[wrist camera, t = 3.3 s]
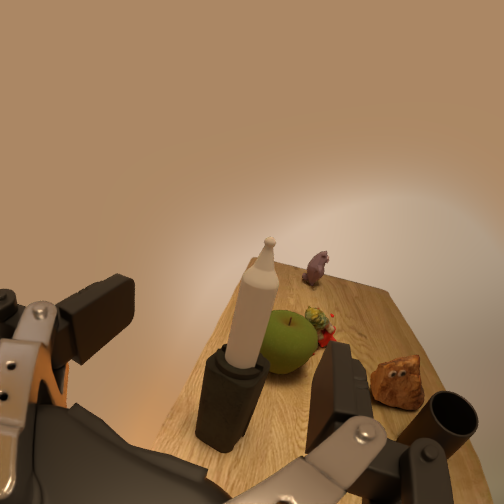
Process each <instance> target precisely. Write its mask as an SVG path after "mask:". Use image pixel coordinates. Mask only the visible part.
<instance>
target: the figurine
mask: <svg viewBox="0 0 504 504" xmlns="http://www.w3.org/2000/svg"><path fill="white" fill-rule="evenodd" d="M328 261H329V256H328V255H327V251H324V252H320V253H319V254H317V255H316V256H314V257H313V259H312V260H311V261H310V262H309V264H308V267H307V274H306V273H304V274H303V275H302V278H303V279H304V280H309V283H310V285H311V286H313V284H314V283H315V282H316V281H317V280H318V279H320V278H321V277H322V276H323V275H324V266H325V263H328Z"/></svg>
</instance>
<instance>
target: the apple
mask: <svg viewBox="0 0 504 504" xmlns="http://www.w3.org/2000/svg"><path fill="white" fill-rule="evenodd" d="M317 347H318V336H317V331H316V330H315V328H314V326H313V325H312V324H311V323H310V322H309V321H308V320H307V319H306V318H304V317H303V316H301V315H299V314H297V313H295V312H291V311H288V310H273V311H271V315H270V318H269V322H268V325H267V328H266V332H265V335H264V338H263V342H262V345H261V348H260V351H259V352H260V353H261V354H262V355H263V357H265V358H266V359H267V360H268V361H269V362H270V369H269V371H270V372H272V373H277V374H287V373H290V372H292V371H294V370H296V369H297V368H299V367H300V366H302V365H303V364H305V363H306V362H307V361H308V360H309V358H310V357H311V356H312V355H313V353H314V352H315V350H316V349H317Z"/></svg>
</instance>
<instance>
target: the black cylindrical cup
mask: <svg viewBox="0 0 504 504" xmlns="http://www.w3.org/2000/svg"><path fill="white" fill-rule="evenodd" d="M477 427H478V417H477V413H476V411H475V410H474V408H473V406H472V405H471V404H470V403H469V402H468V401H467V400H466V399H465V398H463V397H462V396H460V395H458V394H456V393H454V392H450V391H439V392H437V393H435V394H434V395H433V396H432V397H431V398H430V399H429V401H428V402H427V403H426V405H425V406H424V407H423V408H422V410H421V411H420V412H419V413H418V415H417V416H416V417H415V418H414V419H413V421H412V422H411V423H410V424H409V425H408V426H407V428H406V429H405V430H404V431H403V432H402V433H401V434H400V436H399V438H398V440H397V442H399V443H402V444H405V445H408V446H410V445H411V444H412V443H413V442H414V441H415V440H417V439H419V438H430V439H433V440H435V441H436V442H438V443H439V444H440V445H441V446H442V448H443V449H444V451H445V455H446V460H447V459H448V458H450V457H451V456H452V455H453V454H454V453H455V452H456V451H457V450H458V449H459V448H460V447H461V446H462V445H463V444H464V443H465V442H466V441H467V440H468V439H469V438H470V437H471V436H472V435H473V434H474V433H475V432H476V430H477Z"/></svg>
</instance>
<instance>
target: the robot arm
mask: <svg viewBox="0 0 504 504" xmlns="http://www.w3.org/2000/svg"><path fill="white" fill-rule="evenodd" d="M134 299H135V283H134V280H133V279H131V278H128V277H126V276H123V275H120V274H115V275H113V276H111V277H109V278H107V279H106V280H104V281H100V282H96V283H93V284H91V285H89V286H87V287H86V288H85V289H82V290H80V291H79V292H78V293H75V294H73V295H71V296H70V297H68V298H66V299H64V300H63V301H61V302H59V303H57V304H56V305H54V304H52V303H50V302H47V301H38V302H34V303H31V304H29V305H28V306H27V307H25V306H22V305H19V304H17V300H16V295H15V293H14V292H13V291H12V290H9V289H0V504H336V503H337V502H338V501H339V500H340V499H341V498H342V497H343V496H344V495H345V494H346V493H347V492H348V493H351V494H354V495H357V496H360V497H362V504H454V501H453V494H452V487H451V481H450V475H449V470H448V464H447V460H446V455H445V451H444V449H443V448H442V446H441V445H440V444H439V443H438V442H436V441H435V440H433V439H430V438H419V439H417V440H415V441H414V442H413V443H412V444H411V445H410V446H408V445H405V444H402V443H399V442H396V441H393V440H390V439H388V438H387V434H386V431H385V429H384V427H383V426H382V425H381V424H380V423H379V422H378V421H376V420H375V419H374V418H373V411H372V405H371V398H370V392H369V390H368V388H369V386H368V382H367V375H366V370H365V368H364V367H363V365H362V364H361V362H360V361H359V360H356V359H352V357H351V350H350V345H349V344H345V343H340V342H336V341H332V340H330V341H329V342H328V344H327V346H326V349H325V351H324V353H323V356H322V358H321V360H320V362H319V365H318V367H317V369H316V371H315V374H314V377H313V381H312V387H311V400H310V411H309V422H308V432H307V441H306V450H305V453H306V454H308V455H306V456H305V457H303V456H300V457H298V458H296V459H295V460H293V461H292V462H290V463H289V464H288V465H286V466H285V467H283V468H282V469H280V470H279V471H277V472H276V473H274V474H273V475H271V476H270V477H268V478H267V479H265V480H264V481H262V482H260V483H259V484H257V485H256V486H254V487H252V488H251V489H249V490H247V491H245V492H244V493H242V494H240V495H238V496H236V497H235V498H233V499H232V498H231V497H230V495H229V494H228V493H226V492H225V491H224V490H223V489H222V488H221V487H219V486H218V485H217V484H215V483H214V482H212V481H211V480H209V479H207V478H206V476H207V472H208V469H206V468H203V467H201V466H198V465H195V464H192V463H190V462H187V461H184V460H182V459H179V458H177V457H175V456H172V455H169V454H164V453H160V452H156V451H151V450H147V449H143V448H140V447H136V446H133V445H130V444H128V443H127V442H126V441H125V440H124V439H122V438H121V437H120V436H119V435H118V434H117V433H116V432H115V431H114V430H113V429H111V428H110V427H109V426H108V425H107V424H106V423H105V422H104V421H103V420H102V419H100V418H99V417H97V416H96V415H94V414H92V413H91V412H89V411H88V410H86V409H85V408H83V407H82V406H80V405H79V404H77V403H75V404H74V405H73V406H72V407H71V408H70V409H68V408H67V405H66V396H67V382H68V372H69V365H68V361H70V360H71V359H72V360H74V361H75V362H77V363H78V364H80V365H83V364H84V363H85V362H86V361H87V360H88V359H90V358H91V357H92V356H93V355H94V354H95V353H96V352H98V351H99V350H100V349H101V348H102V347H103V346H105V345H106V344H107V343H108V342H109V341H110V340H112V339H113V338H114V337H115V336H116V335H117V334H119V333H120V332H121V331H122V330H123V329H125V328H126V327H127V326H128V325H129V324H130V323H131V321H132V319H133V317H134V311H135V302H134V301H135V300H134Z"/></svg>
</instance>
